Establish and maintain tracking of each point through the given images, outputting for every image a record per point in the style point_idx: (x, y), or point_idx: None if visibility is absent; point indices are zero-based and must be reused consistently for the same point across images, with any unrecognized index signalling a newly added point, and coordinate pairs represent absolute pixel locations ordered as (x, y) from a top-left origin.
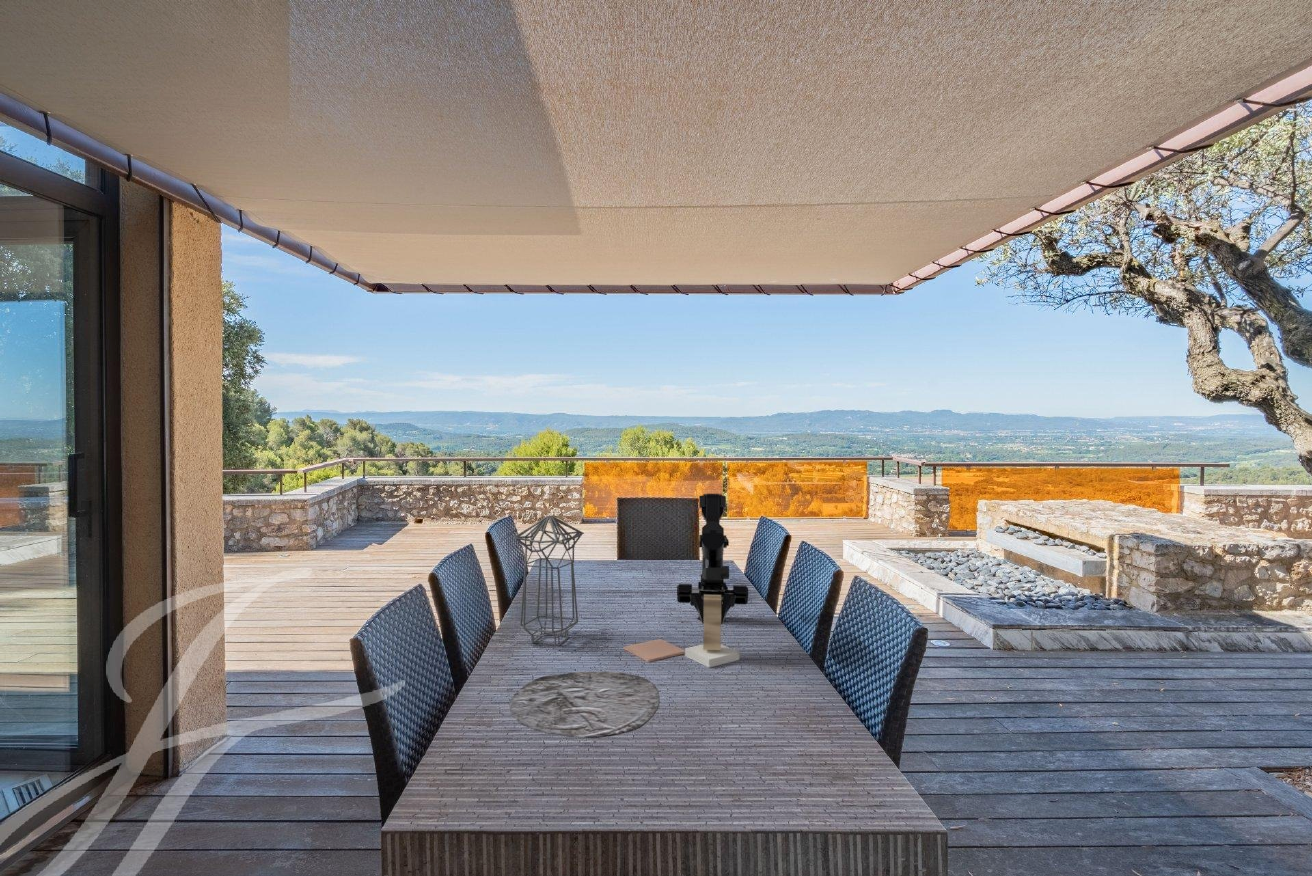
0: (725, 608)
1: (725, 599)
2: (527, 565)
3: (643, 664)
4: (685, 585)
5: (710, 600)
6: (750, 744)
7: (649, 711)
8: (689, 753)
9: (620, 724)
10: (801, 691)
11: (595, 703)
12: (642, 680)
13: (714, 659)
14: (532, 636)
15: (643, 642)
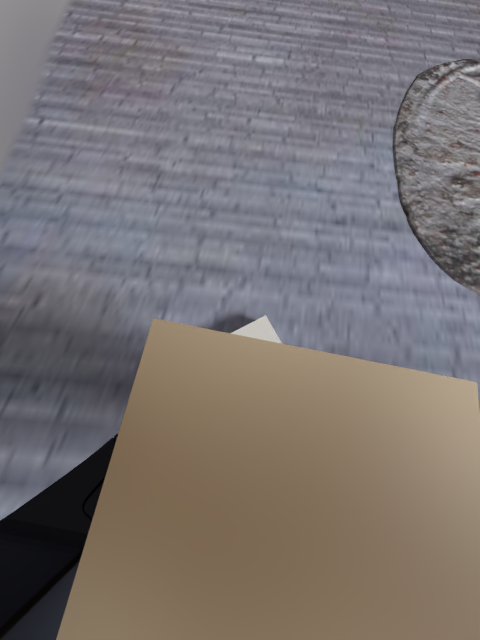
0: (112, 449)
1: (14, 570)
2: None
3: (455, 368)
4: None
5: (341, 361)
6: (251, 14)
7: (409, 114)
8: (342, 10)
9: (452, 82)
10: (71, 155)
11: None
12: (442, 250)
13: (245, 326)
14: None
15: None
